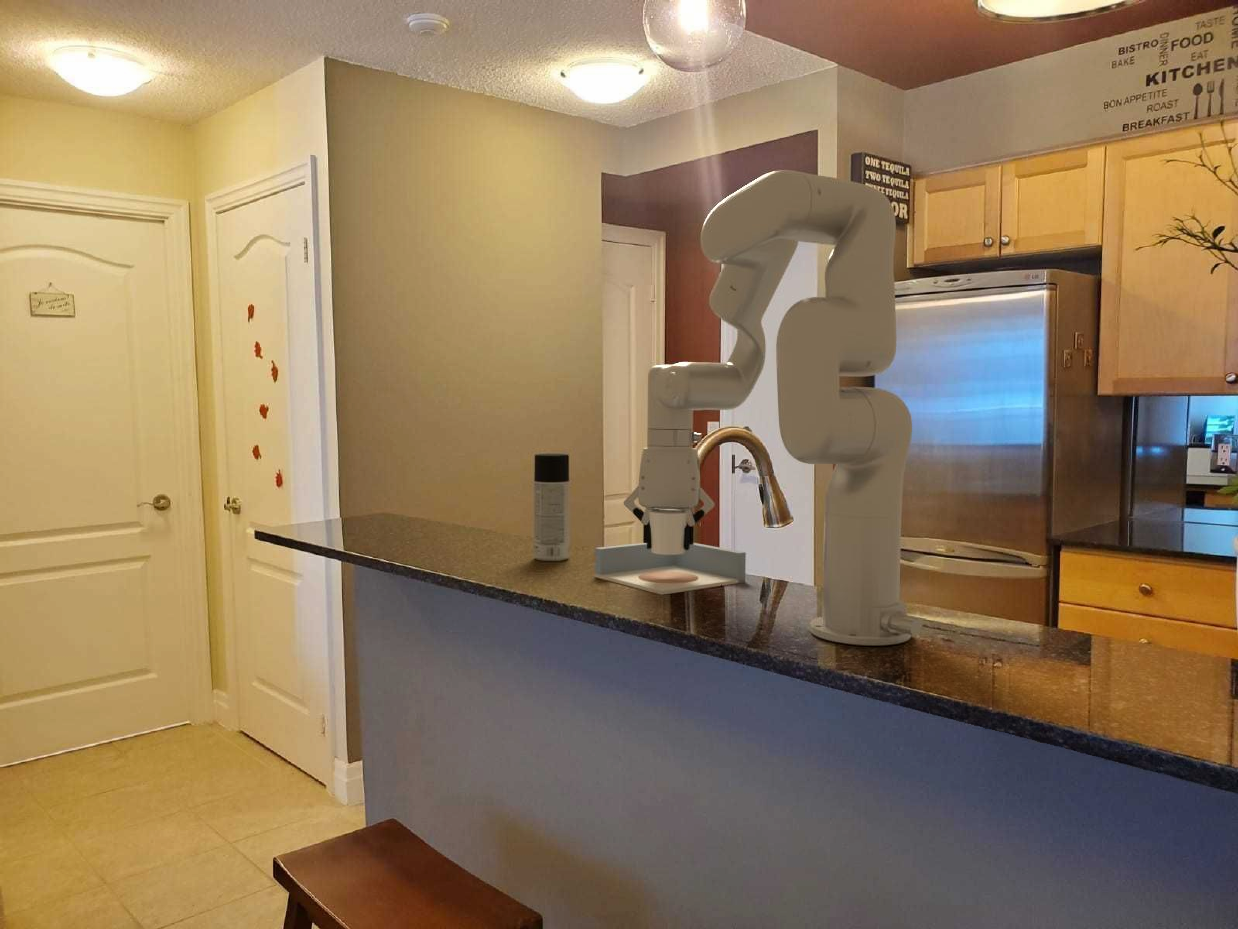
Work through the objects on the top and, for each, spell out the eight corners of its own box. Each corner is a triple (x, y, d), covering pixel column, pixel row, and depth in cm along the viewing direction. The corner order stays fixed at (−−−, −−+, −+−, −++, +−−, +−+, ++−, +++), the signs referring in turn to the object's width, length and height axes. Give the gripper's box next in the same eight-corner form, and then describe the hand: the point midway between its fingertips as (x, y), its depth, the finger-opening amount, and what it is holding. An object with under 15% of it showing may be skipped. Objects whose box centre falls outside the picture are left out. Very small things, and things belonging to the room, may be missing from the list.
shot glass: (669, 547, 158) (670, 507, 157) (696, 553, 152) (698, 511, 152) (638, 551, 153) (639, 509, 153) (666, 556, 148) (667, 513, 148)
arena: (745, 582, 153) (745, 552, 152) (661, 594, 142) (661, 562, 142) (675, 566, 167) (675, 539, 167) (594, 577, 156) (594, 548, 156)
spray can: (576, 558, 176) (576, 454, 175) (555, 563, 170) (555, 455, 169) (548, 555, 179) (548, 453, 178) (526, 559, 174) (526, 454, 172)
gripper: (722, 440, 154) (720, 546, 155) (621, 438, 157) (620, 543, 158) (721, 441, 147) (719, 553, 148) (615, 440, 149) (614, 550, 150)
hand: (668, 547), depth 153 cm, fingers closed on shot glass, 5 cm apart
